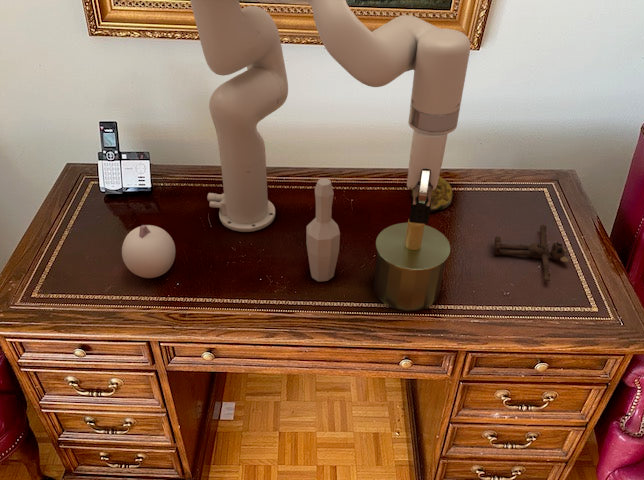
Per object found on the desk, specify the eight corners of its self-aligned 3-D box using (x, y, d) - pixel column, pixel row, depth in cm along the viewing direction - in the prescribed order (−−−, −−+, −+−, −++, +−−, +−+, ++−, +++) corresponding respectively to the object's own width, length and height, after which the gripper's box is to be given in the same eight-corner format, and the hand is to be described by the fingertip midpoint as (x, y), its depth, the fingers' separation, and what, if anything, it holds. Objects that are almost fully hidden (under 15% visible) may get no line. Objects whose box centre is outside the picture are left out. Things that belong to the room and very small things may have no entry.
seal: (452, 219, 141) (449, 181, 152) (458, 202, 138) (454, 164, 148) (411, 212, 141) (410, 175, 152) (416, 195, 138) (415, 158, 148)
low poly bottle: (315, 288, 124) (316, 195, 109) (300, 269, 128) (300, 177, 113) (343, 278, 126) (348, 186, 111) (328, 260, 130) (331, 168, 115)
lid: (370, 269, 113) (373, 239, 109) (379, 223, 123) (382, 195, 118) (447, 279, 111) (454, 249, 106) (450, 232, 120) (456, 203, 116)
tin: (370, 306, 120) (374, 265, 113) (377, 263, 129) (382, 223, 122) (436, 315, 118) (445, 274, 111) (440, 272, 127) (448, 230, 120)
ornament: (165, 292, 124) (155, 245, 116) (118, 282, 127) (105, 235, 118) (186, 259, 131) (178, 212, 123) (141, 251, 134) (130, 204, 125)
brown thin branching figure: (495, 213, 136) (568, 216, 132) (493, 229, 138) (564, 233, 135) (495, 268, 123) (575, 273, 120) (493, 284, 126) (571, 289, 122)
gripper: (413, 88, 105) (403, 176, 116) (404, 140, 92) (394, 233, 104) (459, 91, 103) (444, 180, 115) (456, 145, 91) (440, 238, 103)
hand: (420, 205), depth 110 cm, fingers open, 9 cm apart
